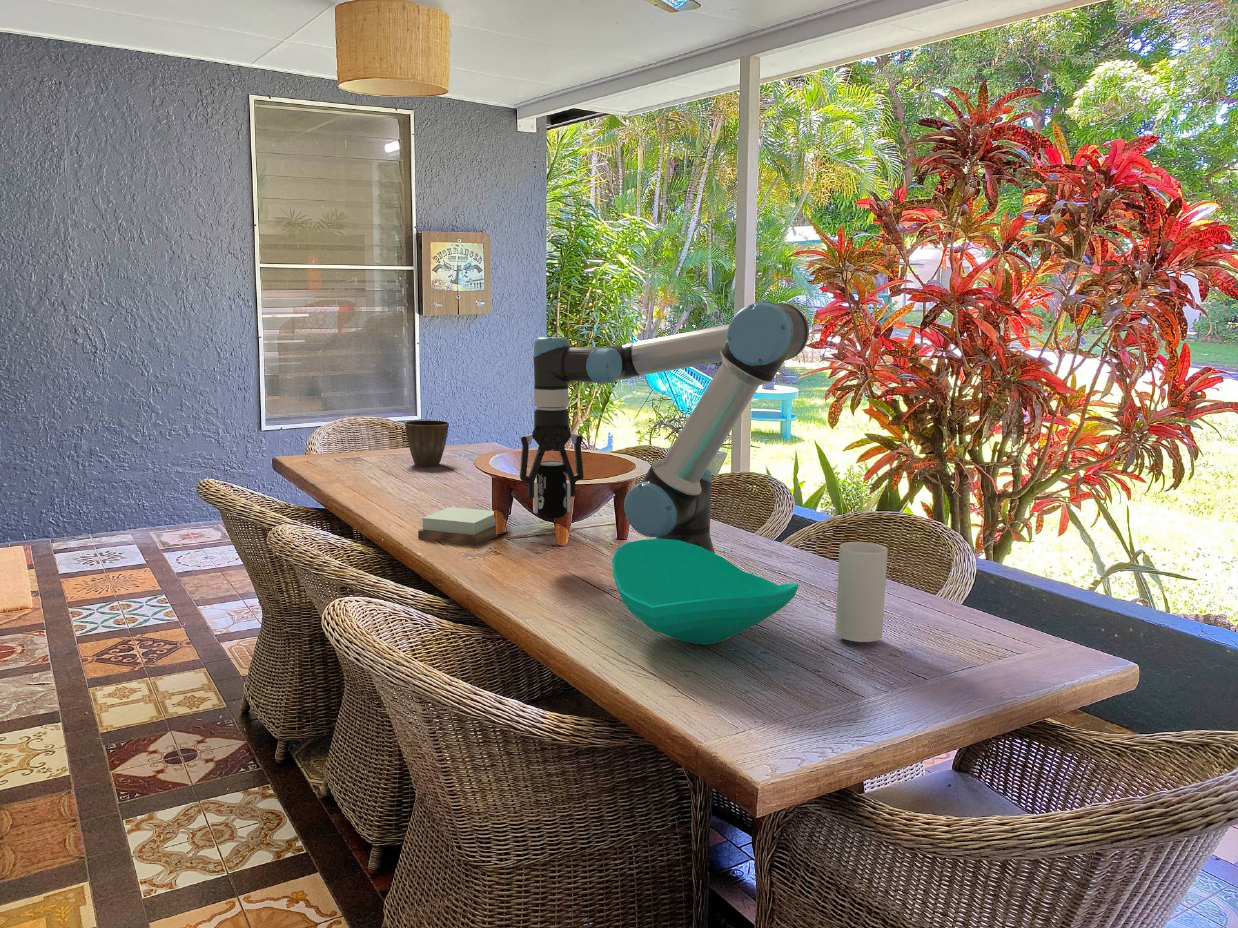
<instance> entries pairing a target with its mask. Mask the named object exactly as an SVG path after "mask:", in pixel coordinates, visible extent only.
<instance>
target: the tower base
mask: <svg viewBox="0 0 1238 928" xmlns="http://www.w3.org/2000/svg"><path fill="white" fill-rule="evenodd" d="M507 528H508V526H507V527H506V530H507ZM495 536H496V526H493V527H491V528H489V529H487V530H484V531H482V532H480V533H478V534H476V535H468V534H458V533H448V532H439V531H429V530H423V528H421V529H418V531H417V538H418V539H419V540H427V541H428V540H429V541H437V542H446V543H453V544H460V545H468V546H475V547H478V546H479V545H482V544H483V543H486V542H488V541H490V540H492V539H494V538H496V537H497V536H496V537H495ZM485 541H486V542H485ZM477 545H478V546H477Z"/></svg>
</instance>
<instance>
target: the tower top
mask: <svg viewBox="0 0 1238 928" xmlns="http://www.w3.org/2000/svg"><path fill="white" fill-rule="evenodd" d="M494 511H495V510H487V509H475V508H464V507H452V506H450V507H446V508H444V509H442V510H438V511H437V512H434V513H431V514H429V515H426V516H424V517H422V529H423V530H429V531H439V532H448V533H458V534H468V535H476V534H478V533H480V532H482V531H484V530H487V529H489V528H491V527H493V526H495V518H494Z"/></svg>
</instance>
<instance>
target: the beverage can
mask: <svg viewBox="0 0 1238 928" xmlns="http://www.w3.org/2000/svg"><path fill="white" fill-rule="evenodd" d="M567 477H568V475H567V471H566V468H565V466H564V463H563V461H562V460H542V461H541V464H540V467H539V470H538V472H537V475H536V482H537V484H538V513H536V515H538V516H539V517H540V518H543V519H550V520H551V519H560V518H563V517H565V515H566V514H567V513H568V512H567Z"/></svg>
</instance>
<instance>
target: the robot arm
mask: <svg viewBox="0 0 1238 928" xmlns="http://www.w3.org/2000/svg"><path fill="white" fill-rule="evenodd" d="M809 337H810V326H809V321H808V320H807V318H806V316H805V315H804V313H803V312H802V311H801V310H800V309H798V307H795V305H792V304H789V303H782V302H779V303H778V302H771V301H758V302H754V303H751V304H748V305H746V306H744V307H743V308H741V309H740V310H739V311H737V313H736V314H734V316H733V317H732V319H731V320H730V322H729V323H727V324H723V325H718V326H712V327H708V328H701V329H698V330H692V331H686V332H682V333H675V334H671V335H666V336H661V337H656V338H649V339H645V340H639V341H634V342H629V343H623V344H619V345H610V346H608V345H607V346H590V347H589V346H578V347H577V346H575V347H574V346H570V344H569V339H568V338H567V337H563V336H561V337H560V336H540V337H537V338H536V339H535V340H534V343H533V344H534V345H533V357H532V359H533V376H534V380H533V383H534V388H533V389H534V390H533V391H534V392H533V399H534V400H533V406H534V407H535V408H536V409H535V410H533V415H534V416H533V417H534V419H533V420H534V421H533V422H534V423H533V425H534V426H533V427H534V428H533V431H532V433H530V434H526V435H524V434H522V435H520V442H521V446H522V448H521V456H520V457H521V459H520V468H519V478H520V481H522V482H525V483H527V494H528V498H529V499H532V506H533V507H532V511H533V514H537V513H538V484H537V481H536V482H535V480H536V479H537V472H538V470H539V467H540V464H541V462H542V461H543V459H544V458H543V457H544V456H545V452H550V451H554V452H558V453H559V455H560V458H561V461H562V462H563V463H564V466H565V468H566V471H567V477H568V481H567V513H571V511H572V510H571V508H572V507H571V498H572V497H575V496H576V483H577V482H578V481H581V480H583V479H584V468H583V467H584V466H583V457H582V442H583V438H584V437H583V436H582V435H581V434H579V433H578V434H575V433H571V430H570V428H569V426H570V425H569V423H570V419H569V415H570V414H569V409H567V407H569V406H570V405H569V403H570V402H569V399H570V398H569V385H570V384H569V383H574V382H575V383H591V384H592V383H593V384H598V385H602V384H603V385H604V384H614V383H616V382H617V381H618V380H629V379H632V378H635V377H641V376H647V375H651V374H657V373H658V374H659V373H662V372H663V373H664V372H669V371H674V370H675V371H676V370H681V369H686V368H692V367H699V366H704V365H711V364H716V363H721V364H720V366H719V368H718V369H717V371H716V372H715V374H714V376H713V378H712V380H711V381H710V382H709V385H708V386H707V388H706V389H705V391H704V392H703V394H702V395H701V397H700V399H699V401H698V403H697V404H696V406H695V407H694V409H693V411H691V414H690V415H689V417H688V418H687V420H686V422H685V424H684V425H683V427H682V428H681V430H680V432H679V433H678V436H677V437H676V438H675V440H674V442H673V444H672V445H671V446H670V448H669V450H668V452H667V453H666V454H665V456H664V458H662V459H659V460H654V461H653V462H652V464H651V466H650V467H649V469H648V471H647V472H646V474H645V475H644V477H643V479H642V480H641V482H639V483H636V484H635V485H632V487H631V488H630V489H629V491H628V492H627V493H626V496H625V498H624V504H623V505H624V507H623V511H624V512H625V517H626V519H627V522H628V523H629V525H630V526H631V528H632V529H633V530H634V531H635V532H637V533H638V534H640V535H642V536H644V537H647V538H655V539H669V540H680V541H683V542H686V543H690V544H693V545H696V546H700V547H702V548H704V549H706V550H708V551H710V552H713V553H715V554H716V551H715V548H714V545H713V544H714V543H713V542H712V538H711V514H712V513H711V510H712V487H713V479H712V472H711V470H710V469H708V468H709V466H710V464H711V463H712V462H713V460H714V459H715V457H716V455H717V453H718V452H719V450H720V449H721V447H722V446H723V444H724V442H725V441H726V439H727V438H728V437H729V435H730V433H731V431H732V430H733V428H734V427H735V425H736V424H737V422H738V420H739V419H740V417H741V415H742V414H743V412H744V411H745V409H746V408H747V406H748V404H749V403H750V401H751V400H752V398H753V396H754V395H755V393H756V392H757V390H758V388H759V387H760V386H762V385H765V384H769V383H771V382H773V379H774V378H775V377H776V375H777V373H778V372H779V370H780V368H781V367H782V365H783V364H784V362H786V361H788V360H791V359H794V358H796V357H797V356H798V355H800V353H802V351H803V350H804V349H805V347H806V345H807V343H808V341H809ZM570 439H571V442H572V444H573V452H574V462H575V472H576V473H575V474H574V471H573V468H572V466H571V464H570V463H571V462H570V460H569V457H568V455H567V452H566V449H565V446H566V444H567V442H568V441H569V440H570ZM532 440H533V441H535V442H536V443H537V445H538V447H537V449H536V450H537V451H536V454H535V458H534V460H533V463H532V465H531V469H530V471H529V474H528V475H527V473H528V464H529V460H528V459H529V451H530V447H529V446H530V445H531V444H532Z"/></svg>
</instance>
